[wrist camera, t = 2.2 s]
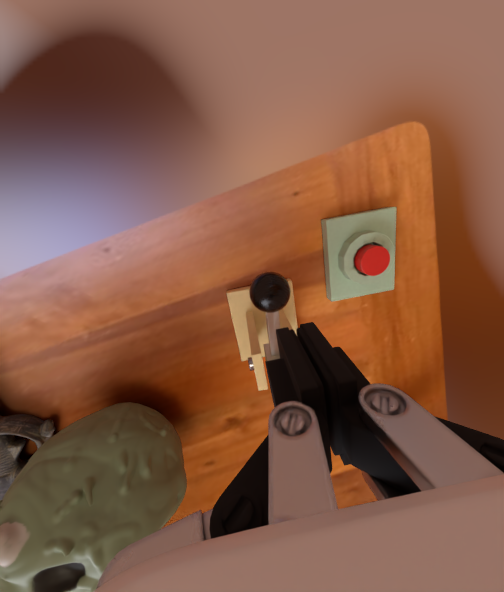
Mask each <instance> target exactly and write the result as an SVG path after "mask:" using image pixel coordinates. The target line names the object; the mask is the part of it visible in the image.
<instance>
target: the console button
mask: <svg viewBox="0 0 504 592" xmlns="http://www.w3.org/2000/svg"><path fill="white" fill-rule="evenodd" d="M354 263H355V267H356V268H357V269H358V270H359V271H360V272H362V273H365V274H367V275H369V276H376V275H379V274H381V273H383V272H384V271H385V270H386V269H387V267H388V265H389V263H390V254H389V252H388V250H387V249H386V248H384V247H382V246H377V245H373V244H369V245H365V246H363V247H362V248H360V249H359V250H358V252H357V253H356V255H355V259H354Z"/></svg>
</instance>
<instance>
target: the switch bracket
mask: <svg viewBox="0 0 504 592" xmlns="http://www.w3.org/2000/svg"><path fill="white" fill-rule="evenodd" d="M286 280H287V282H288V284H289V286H290V291H291V293H290V299H289V301H288V303H287V305H286V306H285V307H284V308H283V309H281V310H279V318H280V328H285V327H288V328H289V330H291V329H293V330H294V331H295V333H296V335H297V332H296V329H297V328H298V326H297V318H296V310H295V302H294V294H293V286H292V280H291V279H290V278H289V279H286ZM249 290H250V286H248V287H242V288H237V289H232V290H227V292H226V294H227V298H228V303H229V307H230V312H231V316H232V320H233V325H234V329H235V334H236V338H237V343H238V347H239V351H240V356H241V360H242V361H246V360H248V363H249V368H250V371H252V370H255V375H256V380H257V385H258V390H259V391H261V390H266V389H268V385H267V380H266V375H265V369H264V364H263V359H262V357H265V352H264V344H267V343H269V340H268V332H267V325H266V317H265V312H262V311H260V310H259V309H257V308H256V307H255V306H254V305H253V303H252V301H251V299H250V295H249Z"/></svg>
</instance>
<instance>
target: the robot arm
mask: <svg viewBox="0 0 504 592" xmlns="http://www.w3.org/2000/svg"><path fill="white" fill-rule="evenodd" d="M296 332H297V335H296V333H295V331H294V330H293V329H291V330H289V328H288V327H285V328H280V329H276V336H277V342H278V348H279V355H280V359H275V360H270V361H266V368H267V373H268V378H269V383H270V388H271V393H272V398H273V402H274V406H275V408H274V409H273V410H272V412H271V414H270V416H269V434H268V436H267V437H266V438H265V440H264V441H263V442H262V443H261V445H260V446H259V447H258V449H257V450H256V451H255V452H254V454H253V455H252V456H251V458H250V459H249V460H248V461H247V463H246V464H245V465H244V467H243V468H242V469H241V470H240V472H239V473H238V474H237V476H236V477H235V478H234V479H233V481H232V482H231V483H230V485H229V486H228V487H227V488H226V490H225V491H224V492H223V494H222V495H221V496H220V497H219V499H218V501H217V502H216V504H215V506H214V507H213V509H211V510H209V511H207V512H205V513H203V514H202V512H201V510H199V511H197V512H195V513H193V514H191V515H189V516H187V517H185V518H183V519H181V520H179V521H177V522H175V523H173V524H171V525H169V526H167V527H165V528H163V529H161V530H159V531H157V532H154V533H152V534H150V535H148V536H146V537H144V538H142V539H140V540H138V541H136V542H134V543H132V544H130V545H128V546H127V547H125V548H124V549H123V550H121V551H120V552H118V553H117V554H116V556H115V557H114V558H113V559H112V560H111V561H110V562H109V563H108V565H107V567H106V568H105V570H104V572H103V573H102V575H101V577H100V579H99V582H98V585H97V588H96V590H95V591H93V592H504V440H502V439H500V438H497V437H494V436H491V435H488V434H485V433H482V432H479V431H476V430H473V429H470V428H467V427H464V426H462V425H458V424H455V423H452V422H450V421H447V420H444V419H441V418H438V417H435V416H433V415H432V414H430V413H429V412H428V411H427V410H425V409H424V408H423V407H422V406H420V405H419V404H418V403H417V402H416V401H414V400H413V399H412V398H411V397H409V396H408V395H407V394H406V393H404V392H403V391H401V390H400V389H398V388H396V387H393V386H391V385H386V384H370V383H369V382H368V380H367V379H366V378H365V377H364V375H363V374H362V373H361V372H360V371H359V369H358V368H357V367H356V366H355V365H354V363H353V362H352V361H351V360H350V358H349V357H348V356H347V355H346V354H345V352H344V351H343V350H342V349H341V348H340V347H334V348H332V346H331V345H330V344H329V342H328V341H327V340H326V338H325V337H324V336H323V335H322V333H321V332H320V331H319V329H318V328H317V327H316V325H315V324H314V323H313V322H310V323H305V324H300V328H297V329H296ZM330 446H331V449H332V451H333V453H334V455H340V457H341V459H342V461H343V463H344V465H348V464H352V465H353V466H355V467H357V468H358V469H360V470H361V471H362V475H363V477H364V479H365V481H366V483H367V484H368V486H369V487H370V489H371V490H372V492H373V493H374V495H375V496H376V498H377V499H378V501H375V502H370V503H366V504H361V505H356V506H352V507H347V508H343V509H338V507H337V503H336V498H335V494H334V490H333V485H332V481H331V477H330V473H331V471H332V461H331V450H330Z"/></svg>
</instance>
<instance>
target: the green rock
mask: <svg viewBox="0 0 504 592" xmlns="http://www.w3.org/2000/svg"><path fill="white" fill-rule="evenodd" d="M186 487H187V479H186V473H185V469H184V459H183V454H182V445H181V441H180V438H179V436H178V434H177V432H176V430H175V429H174V427H173V425H172V424H171V423H170V422H169V421H168V420H167V419H166V418H165V417H164V416H163V415H162V414H161V413H159V412H158V411H156V410H154V409H152V408H149V407H146V406H144V405H141V404H139V403H132V402H126V403H118V404H115V405H112V406H109V407H106V408H104V409H102V410H99V411H97V412H95V413H93V414H90V415H88V416H86V417H84V418H82V419H80V420H78V421H76V422H74V423H72V424H70V425H69V426H67V427H66V428H64V429H63V430H61V431H60V432H58V433H57V434H55V435H54V436H53V437H51V438H50V439H48V440H47V441H46V442H45V443H44V444H43V445H42V446H41V447H40V448H39V449H38V450H37V451H36V452H35V453H34V454H33V455H32V457H31V458H30V460H29V461H28V463H27V464H26V465H25V467H24V468H23V469H22V470H21V472H20V473H19V474H18V476H17V477H16V478H15V480H14V481H13V483H12V484H11V486H10V487H9V489H8V490H7V492H6V493H5V495H4V497H3V499H2V500H0V592H93V591H95V590H96V588H97V585H98V582H99V579H100V577H101V575H102V573H103V572H104V570H105V568H106V567H107V565H108V563H109V562H110V561H111V560H112V559H113V558H114V557H115V556H116V554H117V553H118V552H120V551H121V550H123V549H124V548H125V547H127V546H128V545H130V544H132V543H134V542H136V541H138V540H140V539H142V538H144V537H146V536H148V535H150V534H152V533H154V532H157V531H159V530H161V528H162V527H163V526H164V525H165V524H166V523H167V522H168V520H169V519H170V518H171V517H172V516H173V514H174V513H175V512H176V510H177V509H178V507H179V505H180V504H181V502H182V500H183V498H184V495H185V492H186Z"/></svg>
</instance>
